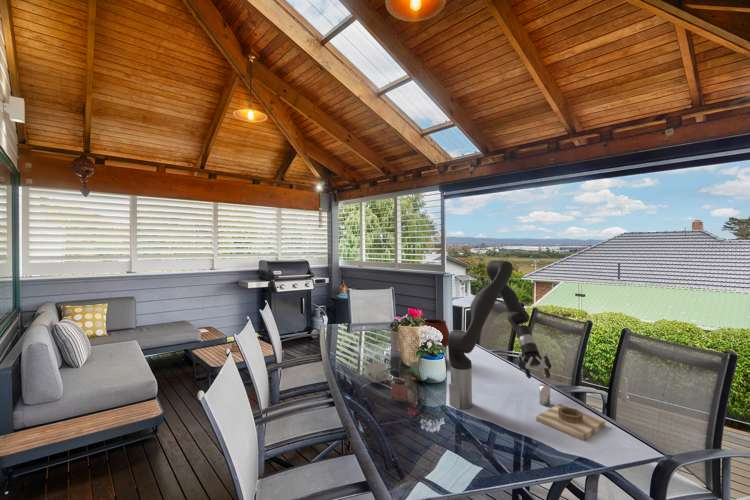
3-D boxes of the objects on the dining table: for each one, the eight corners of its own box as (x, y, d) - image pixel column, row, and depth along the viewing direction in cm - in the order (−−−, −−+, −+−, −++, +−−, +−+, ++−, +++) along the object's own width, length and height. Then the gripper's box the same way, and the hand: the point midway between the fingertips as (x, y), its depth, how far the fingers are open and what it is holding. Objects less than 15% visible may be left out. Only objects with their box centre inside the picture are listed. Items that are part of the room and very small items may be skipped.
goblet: (454, 358, 220) (454, 319, 220) (443, 368, 204) (442, 325, 203) (426, 354, 230) (426, 316, 230) (413, 362, 214) (413, 322, 214)
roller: (547, 407, 154) (546, 389, 154) (537, 403, 157) (537, 385, 157) (552, 404, 156) (552, 386, 156) (542, 400, 160) (542, 383, 160)
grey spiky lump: (360, 380, 188) (360, 365, 188) (379, 374, 195) (378, 360, 195) (377, 389, 176) (376, 373, 176) (396, 383, 183) (396, 368, 183)
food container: (415, 384, 181) (415, 365, 181) (408, 380, 187) (408, 361, 187) (434, 379, 187) (434, 361, 187) (427, 375, 193) (427, 357, 192)
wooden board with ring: (583, 440, 127) (583, 428, 127) (536, 420, 142) (536, 409, 142) (605, 425, 138) (605, 414, 137) (559, 408, 152) (559, 398, 152)
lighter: (408, 399, 164) (408, 377, 164) (406, 402, 161) (406, 380, 161) (392, 396, 168) (392, 375, 167) (390, 399, 164) (389, 378, 164)
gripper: (515, 342, 171) (526, 374, 159) (545, 341, 170) (557, 373, 159) (511, 349, 176) (521, 381, 165) (540, 349, 176) (551, 380, 165)
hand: (539, 377), depth 162 cm, fingers open, 8 cm apart
